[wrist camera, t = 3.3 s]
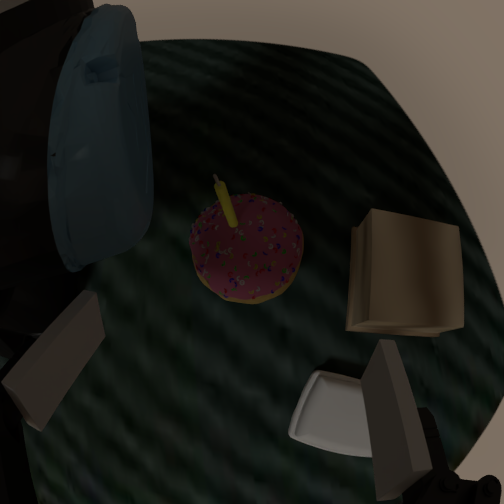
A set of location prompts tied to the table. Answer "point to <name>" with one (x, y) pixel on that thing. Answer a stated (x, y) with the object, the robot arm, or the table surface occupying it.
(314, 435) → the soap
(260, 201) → the cupcake
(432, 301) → the pedestal
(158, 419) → the table surface
